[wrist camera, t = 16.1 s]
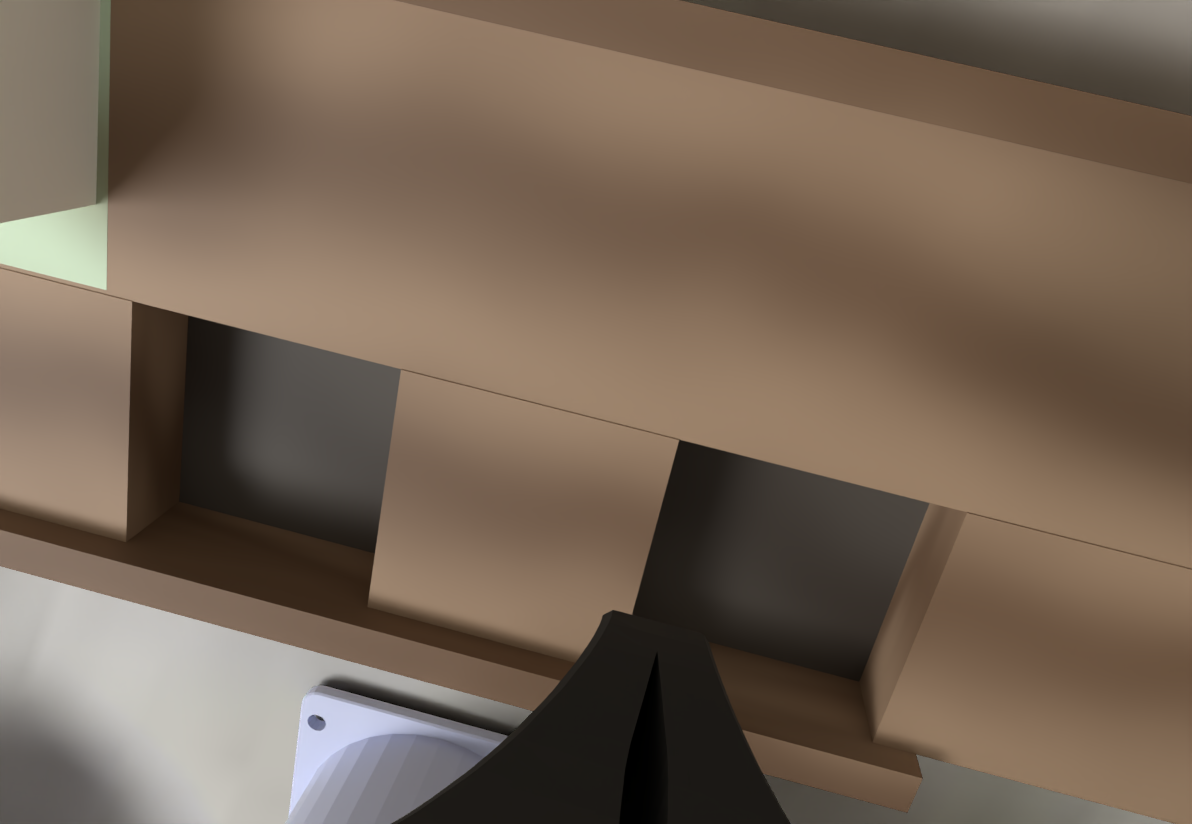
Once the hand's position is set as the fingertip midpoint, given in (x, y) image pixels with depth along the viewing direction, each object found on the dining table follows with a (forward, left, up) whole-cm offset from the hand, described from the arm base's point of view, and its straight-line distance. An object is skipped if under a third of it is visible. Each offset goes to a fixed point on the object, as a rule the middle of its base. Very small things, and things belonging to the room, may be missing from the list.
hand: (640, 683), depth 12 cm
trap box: (+1, +2, -10) cm, 10 cm away
